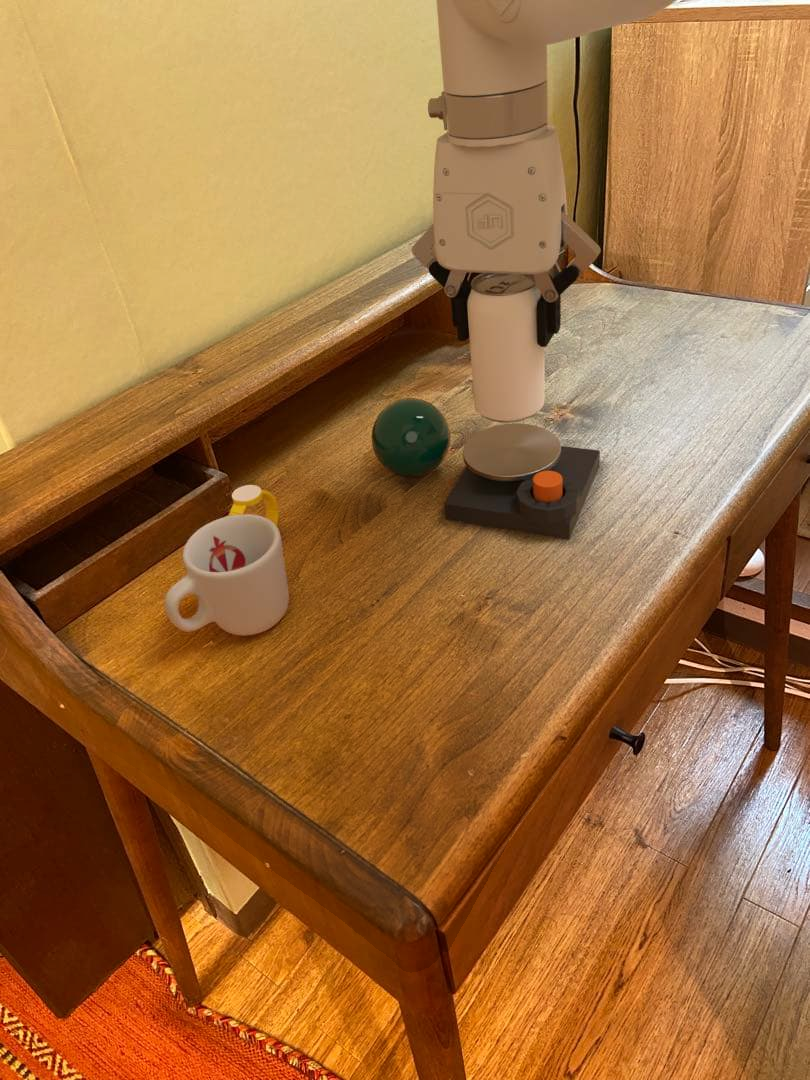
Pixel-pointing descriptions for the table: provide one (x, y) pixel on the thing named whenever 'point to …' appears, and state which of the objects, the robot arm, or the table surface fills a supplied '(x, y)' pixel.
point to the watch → (254, 501)
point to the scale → (526, 498)
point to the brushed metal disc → (511, 452)
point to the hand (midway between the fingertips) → (506, 335)
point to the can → (505, 346)
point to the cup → (233, 576)
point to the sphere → (410, 438)
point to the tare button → (547, 486)
